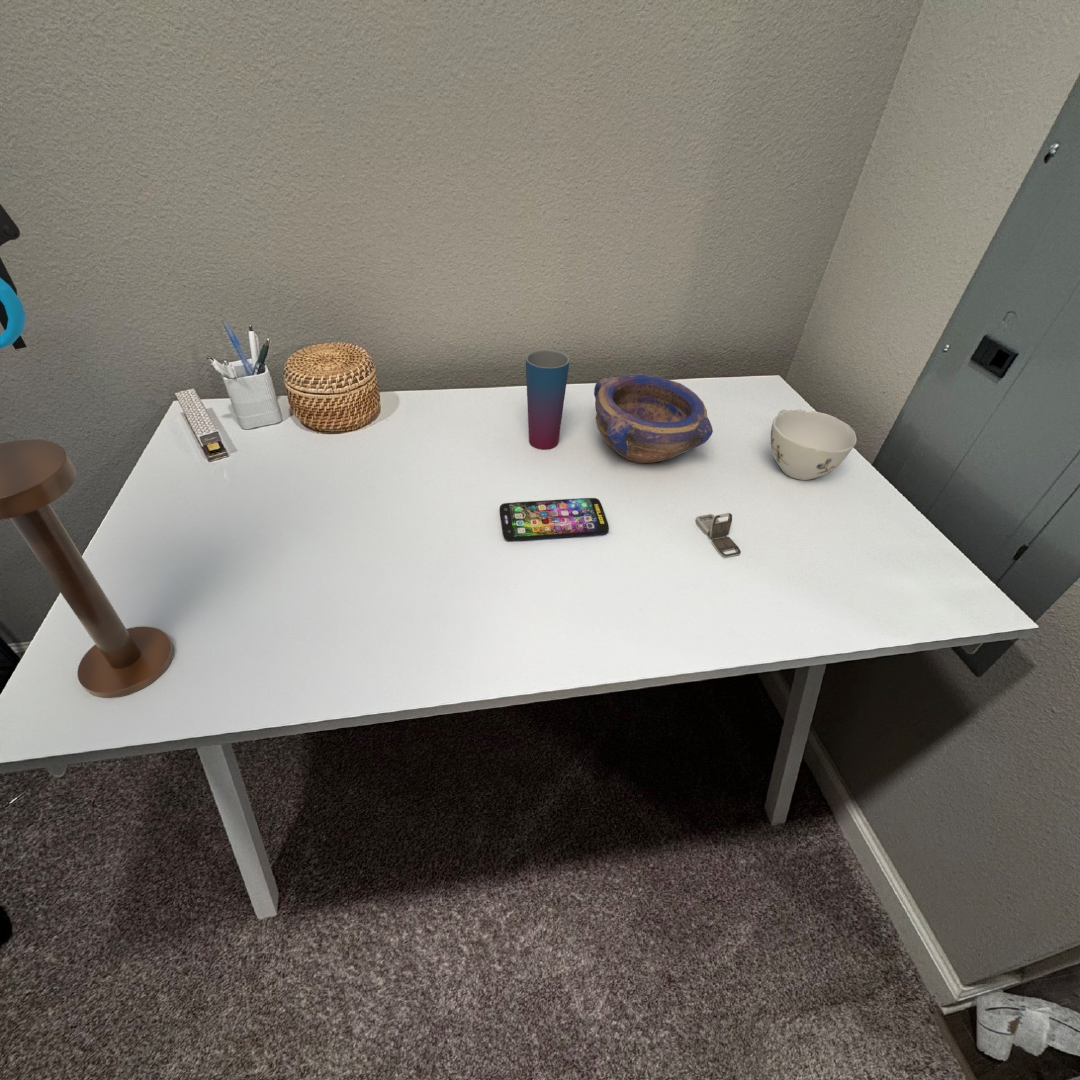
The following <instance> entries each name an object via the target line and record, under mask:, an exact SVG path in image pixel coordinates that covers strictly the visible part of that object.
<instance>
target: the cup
mask: <svg viewBox="0 0 1080 1080" xmlns="http://www.w3.org/2000/svg"><path fill="white" fill-rule="evenodd" d="M570 361H571V359H570V356H569V355H568V354H567V353H566V352H564V351H561V350H560V349H559V350H558V349H554V348H537V349H533V350H531V351H529V352H527V353H526V355H525V377H526V380H525V381H526V402H527V406H526V407H527V426H528V429H527V430H528V443H529V445H530V446H531V447H533V448H534V449H538V450H551V449H554V448H556V447H558V445H559V441H560V433H561V426H562V419H563V412H564V404H565V399H566V398H565V396H566V390H567V383H568V375H569V367H570Z"/></svg>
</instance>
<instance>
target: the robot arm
mask: <svg viewBox="0 0 1080 1080" xmlns="http://www.w3.org/2000/svg"><path fill="white" fill-rule="evenodd" d="M20 236H21V230H20V229H19V226H17V223H15V222H14V219H13V218H12V217H11V216H10V215H9V213H8V212H7V211H6V209H5V208H4V207H3V205H2V204H1V203H0V247H2V245H4V244H6V243H8V242H9V241H16V240H17V239H18V238H20ZM0 278H1V279H2V280H4V281H5V282H6V283H7V284H8V285H9V286H10V287H11V288H12V289H13V291H14V292H15V294H16V295H17V296H18V289H17V287H16V285H15V283H14V281H13V279H12V277H11V275H10V273H9V271H8V269H7V267H6V265H5V264H4V261H3V260H2V257H0ZM7 323H8V316H7V313H6V309H5V306H4V305H3V303H2V302H1V300H0V325H1V327H2V328H3V330H4V331H5V330H6V329H7ZM11 345H12V346H13V348H14V350H20V349H24V348H27V344H26V343H25V341H24V339H23V338H22V334H21V335H20V336H19V337H18V338H17V339H16V341H15V342H14V343H13V344H11Z"/></svg>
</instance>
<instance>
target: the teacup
mask: <svg viewBox="0 0 1080 1080" xmlns="http://www.w3.org/2000/svg"><path fill="white" fill-rule="evenodd" d="M857 439H858V438H857V436H856V432H855V430H854V429H853V428H852V427H851V426H850V425H849V424H847V423H846V422H844V421H842V420H840V419H839V418H838V417H835V416H832V415H831V414H827V413H824V412H820V411H816V410H810V411H806V410H804V409H799V408H798V409H781V410H780V411H779V412H778V414H777V415H776V416H775V417H774V418H773V419H772V424H771V428H770V449H771V452H772V455H773V458H774V459H775V461H776V463H777V464H778V466H779V467H780V469H781V471H782V472H783V473H784V474H785V475H787V476H788V477H790V478H792V479H795V480H796V479H797V480H802V481H809V480H813V479H816V478H818V477H820V476H823V475H826V474H828V473H829V472H831V471H833V470H834V469H835V468H837V467H838V466H839V465H840V464H842V462H843V461H844V460H845V459H846V458H847V457H848V455H850V453H851V451H852V450H853V448H854V447H855V446H856V445H857Z"/></svg>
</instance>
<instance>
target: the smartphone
mask: <svg viewBox="0 0 1080 1080" xmlns="http://www.w3.org/2000/svg"><path fill="white" fill-rule="evenodd" d="M499 517H500V524H501V531H502V537H503V539H504V540H506V541H510V542H511V541H512V542H514V541H530V540H543V539H559V538H575V537H576V538H577V537H587V536H589V537H590V536H600V535H606V534H607V533H609V527H610V526H609V521H608V519H607V517H606V513H605V511H604V508H603V505H602V503H601V501H600V499H598V498H597V497H581V498H564V499H545V500H529V501H516V502H503V503H502V504H501V505H499Z"/></svg>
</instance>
